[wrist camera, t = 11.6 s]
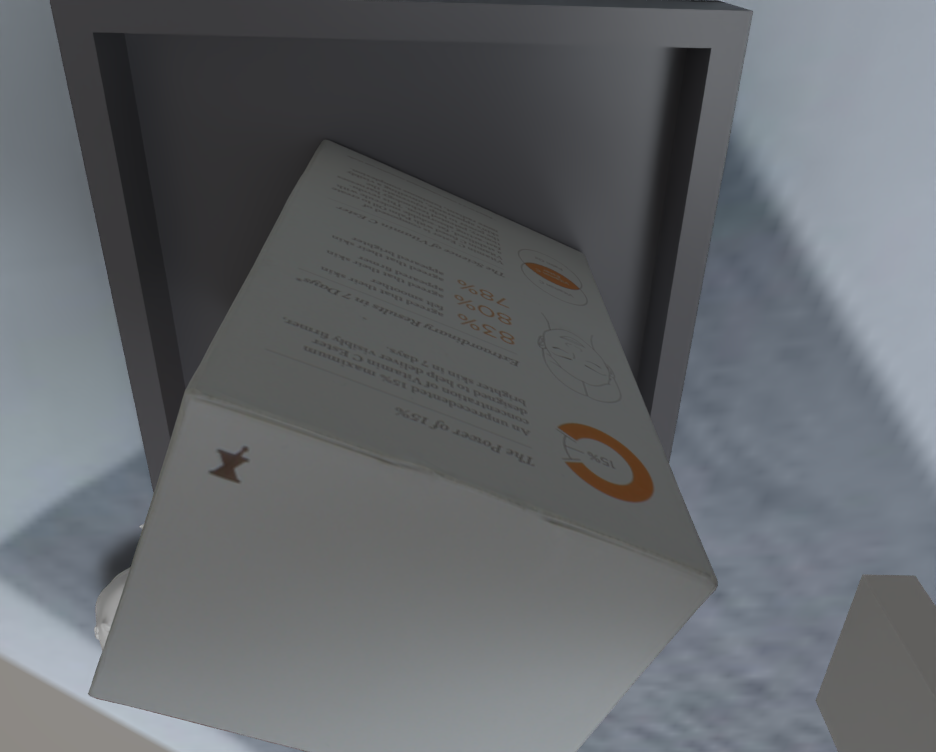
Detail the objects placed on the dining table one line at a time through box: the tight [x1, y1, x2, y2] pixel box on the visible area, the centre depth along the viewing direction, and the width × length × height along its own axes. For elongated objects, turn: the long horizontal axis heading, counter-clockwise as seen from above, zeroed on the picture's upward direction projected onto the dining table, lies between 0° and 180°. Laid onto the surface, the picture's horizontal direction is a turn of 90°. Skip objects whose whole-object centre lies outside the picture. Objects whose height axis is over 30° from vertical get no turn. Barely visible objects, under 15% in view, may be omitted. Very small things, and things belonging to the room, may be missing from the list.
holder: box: [50, 0, 753, 492], centre depth 23 cm, size 16×16×2 cm
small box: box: [88, 140, 718, 752], centre depth 18 cm, size 8×6×13 cm
